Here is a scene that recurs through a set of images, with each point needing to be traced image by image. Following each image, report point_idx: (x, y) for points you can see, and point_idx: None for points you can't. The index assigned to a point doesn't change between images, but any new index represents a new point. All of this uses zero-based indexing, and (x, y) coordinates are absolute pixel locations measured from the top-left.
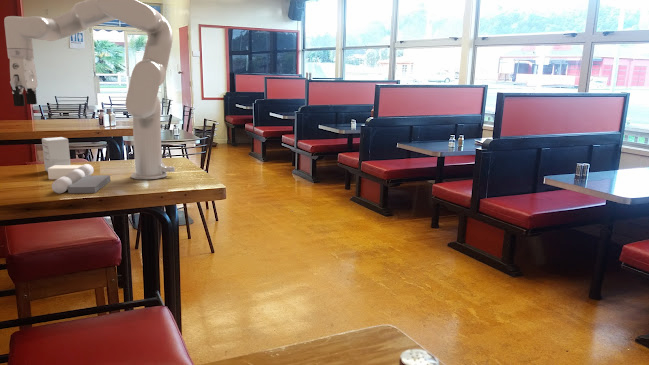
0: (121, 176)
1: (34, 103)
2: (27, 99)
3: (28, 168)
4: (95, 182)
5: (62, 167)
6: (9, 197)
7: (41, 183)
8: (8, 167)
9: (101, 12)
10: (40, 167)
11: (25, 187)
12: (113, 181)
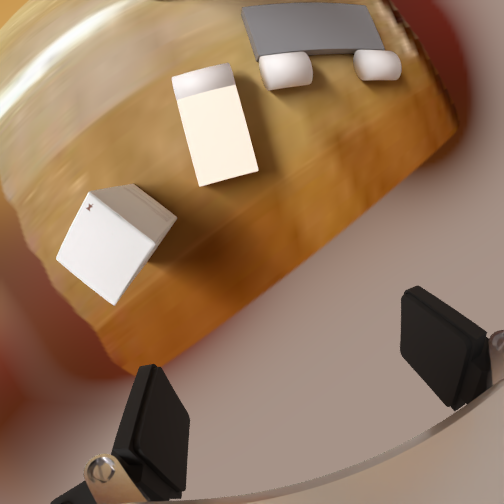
0: (180, 17)
1: (163, 375)
2: (183, 441)
3: (137, 322)
4: (330, 11)
5: (232, 136)
6: (426, 151)
7: (307, 158)
8: None
9: None
10: None
11: (353, 170)
12: None
